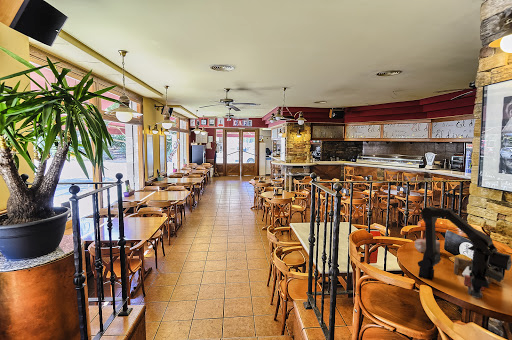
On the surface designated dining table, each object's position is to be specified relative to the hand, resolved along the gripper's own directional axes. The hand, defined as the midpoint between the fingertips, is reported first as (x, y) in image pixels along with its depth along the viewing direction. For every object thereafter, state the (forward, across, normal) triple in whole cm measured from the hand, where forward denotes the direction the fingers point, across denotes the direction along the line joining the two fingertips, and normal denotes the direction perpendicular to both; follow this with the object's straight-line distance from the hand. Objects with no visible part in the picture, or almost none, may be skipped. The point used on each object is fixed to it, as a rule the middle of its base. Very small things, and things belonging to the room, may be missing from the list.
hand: (476, 291), depth 127 cm
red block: (+3, +6, 0) cm, 6 cm away
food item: (+4, +48, +23) cm, 53 cm away
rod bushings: (+3, +4, 0) cm, 6 cm away
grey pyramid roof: (+4, +18, 0) cm, 18 cm away
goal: (+3, +27, 0) cm, 27 cm away
